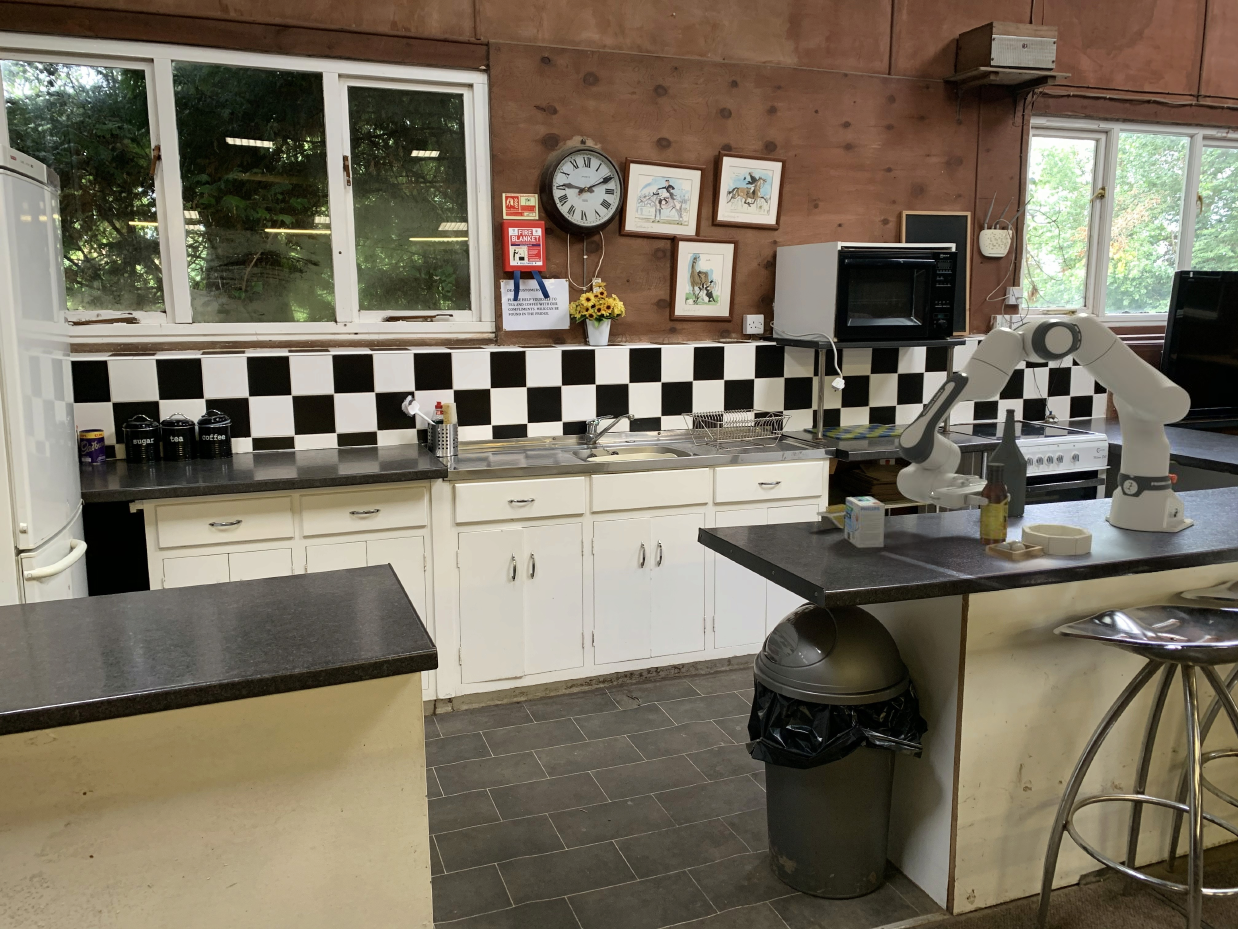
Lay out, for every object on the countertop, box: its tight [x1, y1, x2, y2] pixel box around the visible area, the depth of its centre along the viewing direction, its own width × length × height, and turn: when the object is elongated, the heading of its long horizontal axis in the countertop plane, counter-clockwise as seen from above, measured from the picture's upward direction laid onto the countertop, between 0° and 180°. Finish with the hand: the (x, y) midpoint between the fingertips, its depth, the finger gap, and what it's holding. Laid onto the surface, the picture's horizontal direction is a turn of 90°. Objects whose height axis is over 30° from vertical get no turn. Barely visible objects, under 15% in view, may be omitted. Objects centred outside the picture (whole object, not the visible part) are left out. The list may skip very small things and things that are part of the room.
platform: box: [816, 503, 846, 531], centre depth 249 cm, size 12×18×7 cm, turn 119°
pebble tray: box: [985, 539, 1044, 563], centre depth 218 cm, size 10×8×3 cm
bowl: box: [1020, 523, 1093, 556], centre depth 224 cm, size 14×14×5 cm
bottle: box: [987, 408, 1028, 519], centre depth 263 cm, size 10×10×30 cm
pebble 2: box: [1010, 539, 1023, 550], centre depth 220 cm, size 3×3×3 cm
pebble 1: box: [997, 542, 1010, 551], centre depth 218 cm, size 3×3×3 cm
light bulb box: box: [844, 496, 886, 549], centre depth 234 cm, size 11×7×11 cm, turn 5°
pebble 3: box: [1012, 543, 1026, 552], centre depth 217 cm, size 3×3×3 cm
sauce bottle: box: [979, 462, 1009, 546], centre depth 228 cm, size 6×6×20 cm
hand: (998, 500), depth 227 cm, fingers closed on sauce bottle, 6 cm apart
